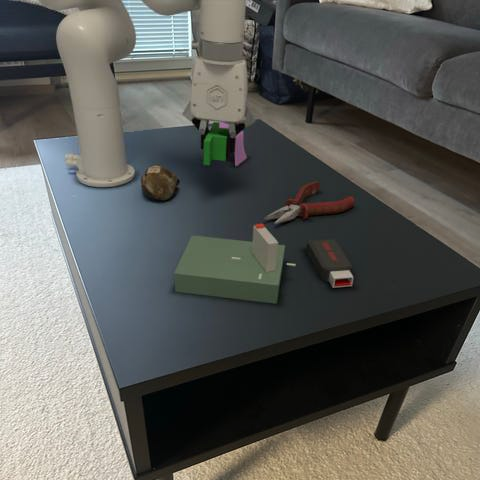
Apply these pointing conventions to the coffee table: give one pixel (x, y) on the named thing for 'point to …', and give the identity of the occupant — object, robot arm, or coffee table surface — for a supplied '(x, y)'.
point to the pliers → (309, 205)
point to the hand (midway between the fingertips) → (217, 153)
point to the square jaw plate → (264, 247)
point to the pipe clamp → (215, 144)
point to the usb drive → (330, 262)
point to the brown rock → (159, 183)
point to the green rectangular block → (227, 270)
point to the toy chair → (236, 145)
